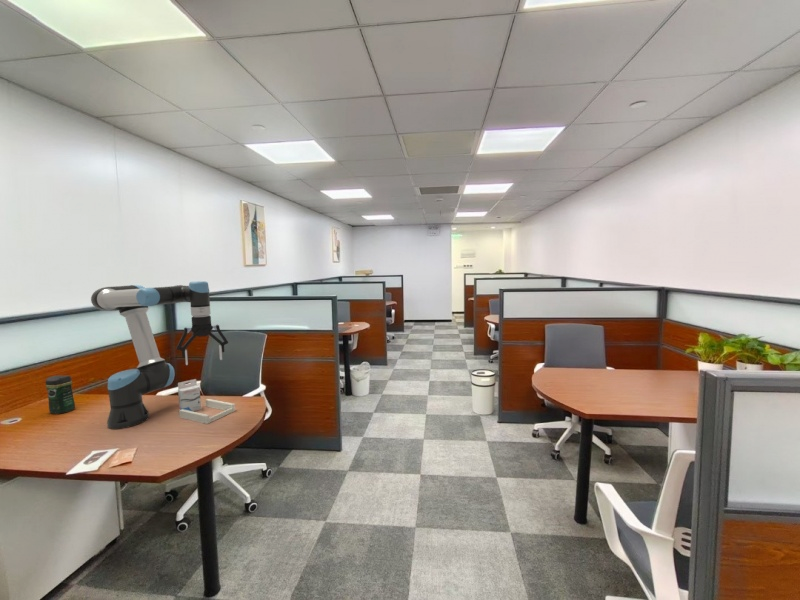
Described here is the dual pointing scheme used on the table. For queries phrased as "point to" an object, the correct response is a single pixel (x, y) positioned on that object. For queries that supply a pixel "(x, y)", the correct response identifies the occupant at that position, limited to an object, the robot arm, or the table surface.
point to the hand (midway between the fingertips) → (204, 361)
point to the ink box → (189, 395)
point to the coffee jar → (60, 394)
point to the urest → (206, 418)
